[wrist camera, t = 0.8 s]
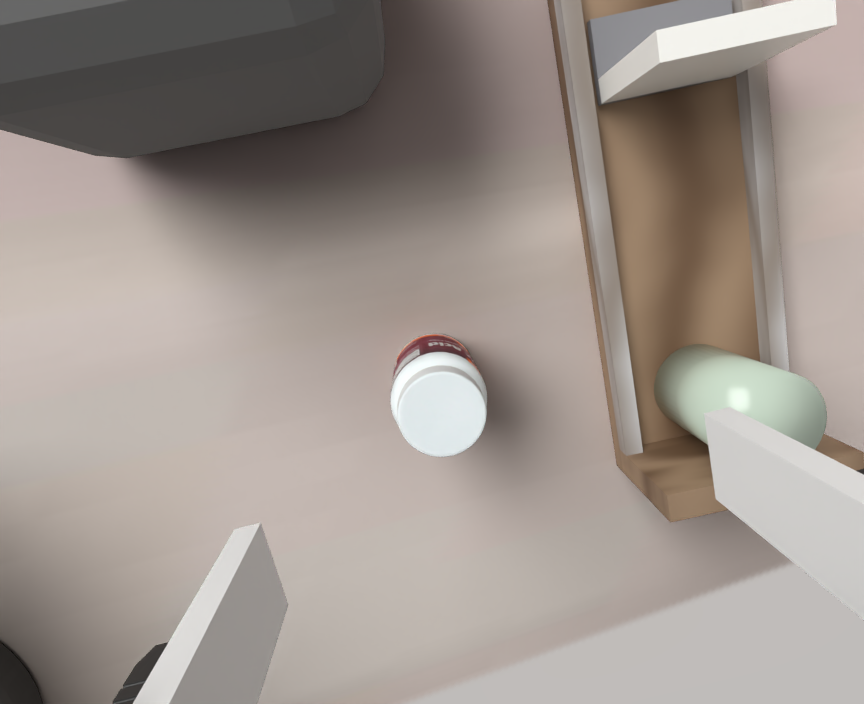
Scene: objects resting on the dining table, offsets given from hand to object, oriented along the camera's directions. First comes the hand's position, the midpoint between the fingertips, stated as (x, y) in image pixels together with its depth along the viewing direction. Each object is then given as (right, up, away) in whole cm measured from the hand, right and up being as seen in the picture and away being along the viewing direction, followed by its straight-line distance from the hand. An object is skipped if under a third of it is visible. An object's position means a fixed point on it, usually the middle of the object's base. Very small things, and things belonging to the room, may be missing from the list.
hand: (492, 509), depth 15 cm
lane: (+12, +11, +16) cm, 23 cm away
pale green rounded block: (+14, +3, +16) cm, 22 cm away
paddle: (+10, +20, +12) cm, 26 cm away
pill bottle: (-2, +3, +17) cm, 17 cm away
